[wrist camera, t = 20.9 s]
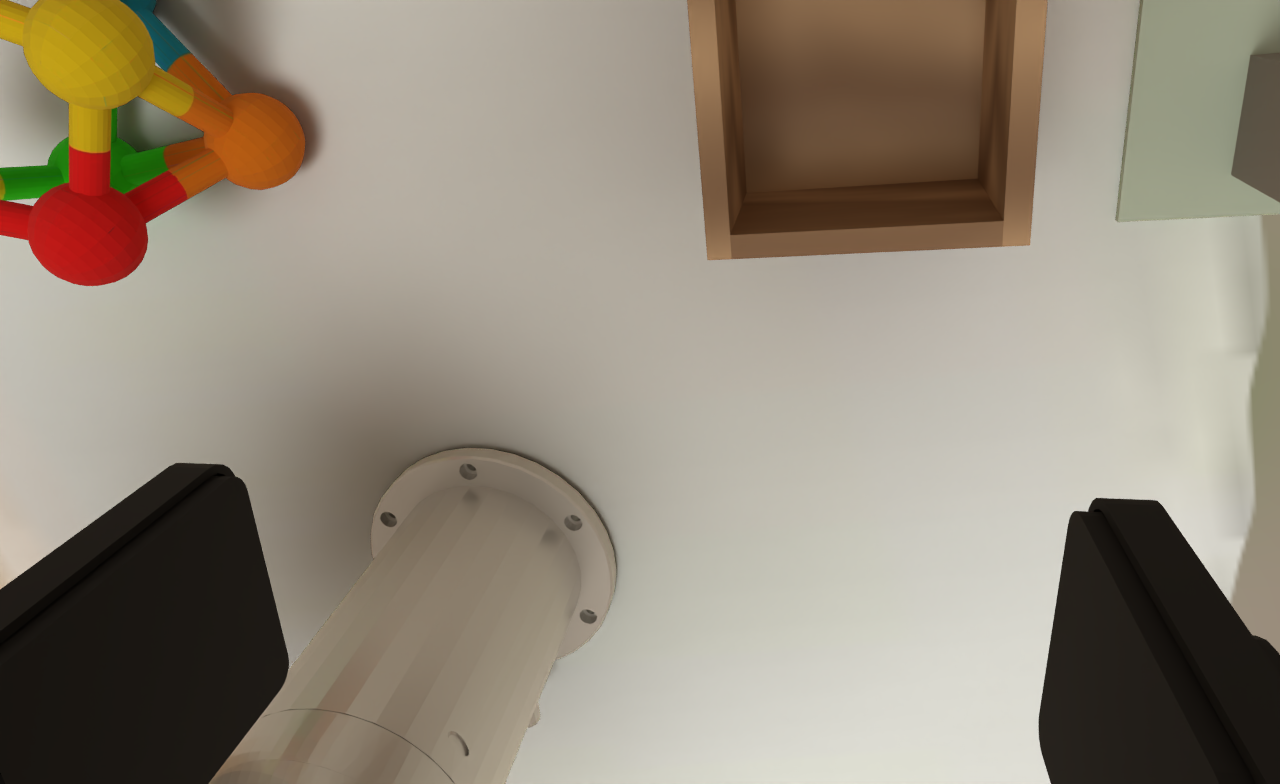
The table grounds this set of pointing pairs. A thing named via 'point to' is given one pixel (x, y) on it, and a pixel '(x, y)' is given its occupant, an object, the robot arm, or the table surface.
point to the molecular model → (109, 167)
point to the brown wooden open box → (866, 124)
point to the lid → (1203, 112)
